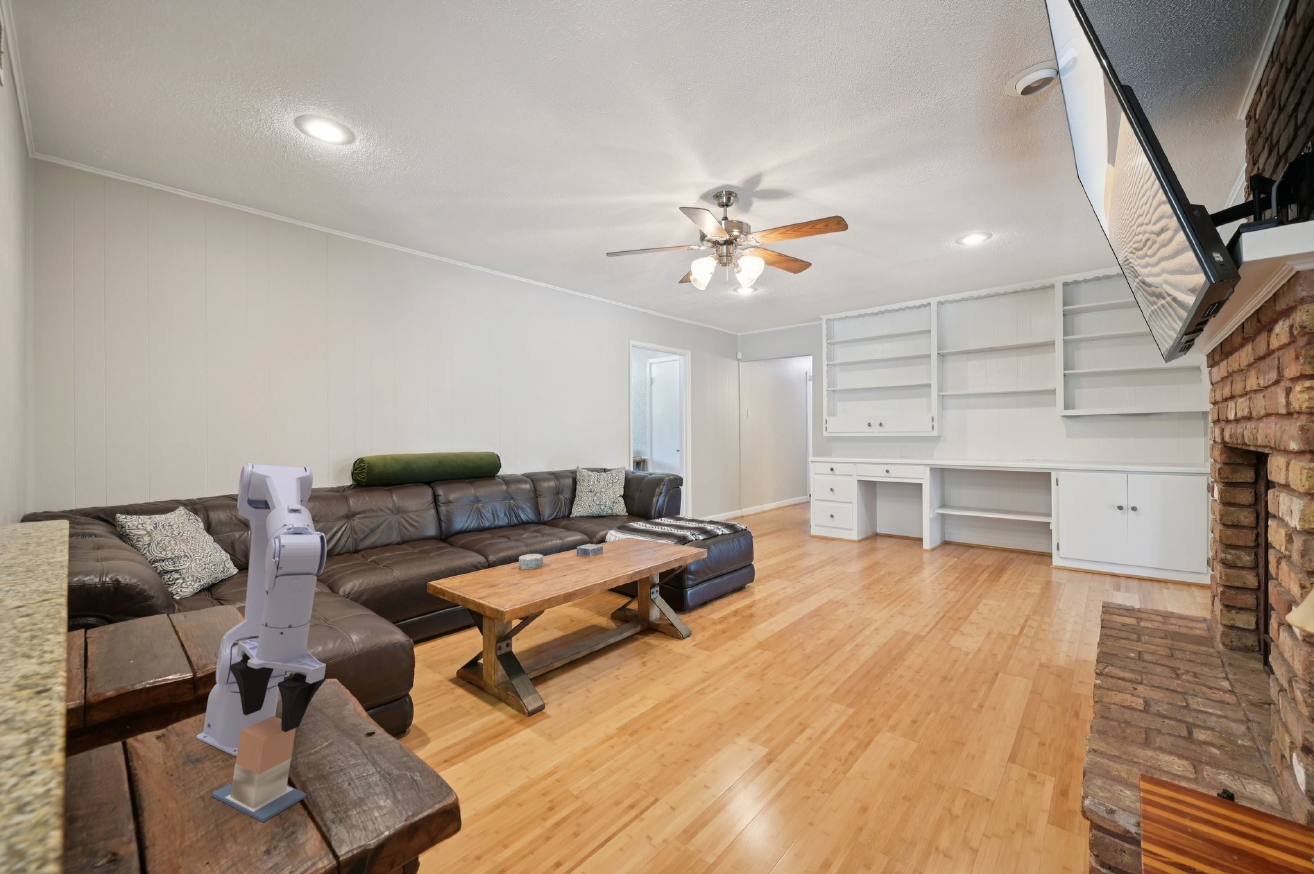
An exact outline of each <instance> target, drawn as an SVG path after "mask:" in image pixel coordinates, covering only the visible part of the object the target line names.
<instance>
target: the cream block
mask: <svg viewBox="0 0 1314 874" xmlns="http://www.w3.org/2000/svg"><path fill="white" fill-rule="evenodd" d="M291 761H292V757H291V758H290V759H288V760H286V761H284V762H282V763H280V764H278V765H276V766H274V767H272V768H270V769H268V770H266V771H264V772H262V773H260V774H257V773H255V772H253V771H251V770H249V769H246V768H244V767H242V766H240V765H238V764H236V762H235V763H234V768H233V774H232V775H233V776H232V782H231V783H232V788H231V795H230V797H231V798H233V799H235V800H237V801H239V802H241V803H243V804H245V805H247V806H249V807H251V808H255V807H257V806H259V805H261V804H262V803H264V802H266V801H268V800H270V799H272V798H273V797H275V796H277V795H279V794H281V793H282V792H284V791H286V788H287V785H288V781H289V780H288V779H289V773H290V768H291V767H290V766H291Z"/></svg>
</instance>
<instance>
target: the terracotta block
mask: <svg viewBox="0 0 1314 874" xmlns="http://www.w3.org/2000/svg"><path fill="white" fill-rule="evenodd" d="M281 719H282V718H280V717H277V716H276V715H275V716H273V717H270V718H268V719H266V720H263V721H261V722H258V723H256V724H253V725H251V726H249V727H246V728H244V729H241V732H240V738H239V745H238V751H237V756H236V758H235V763H236V764H238V765H240V766H242V767H244V768H246V769H249V770H251V771H253V772H255V773H257V774H260V773H262V772H264V771H266V770H268V769H270V768H272V767H274V766H276V765H278V764H280V763H282V762H284V761H286V760H288V759H290V758H291V759H292V755H293V750H294V742H295V736H296V730H297V728H294V729H292V730H290V731H288V732H284V731H282V728H281Z"/></svg>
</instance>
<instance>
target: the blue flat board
mask: <svg viewBox="0 0 1314 874" xmlns="http://www.w3.org/2000/svg"><path fill="white" fill-rule="evenodd" d="M231 788H232V782H231V783H229V784H227V785H225V786H223V787H221V788H219V789H217V790H215V791H213V792H211V797H212V798H214V799H216V800H218V801H220V802H223V803H225V804H226V805H228V806H230V807H232V808H234V809H236V810H237V811H240V812H242V813H244V814H245V815H248V816H249V817H252V818H254V819H256V820H257V821H260V822H261V823H264V822H266V821H268V820H269V819H271V818H273V817H274V816H276V815H278V814H279V813H281V812H283V811H284V810H287V809H288V808H290V807H292V806H294V805H295V804H296V803H298V802H300V801H301V800H303V799H305V798H307V793H306V792H303V791H301V790H300V789H297V788H294V787H293V786H290V785H288V784H287V788H286V791H284V792H282V793H281V794H279V795H277V796H275V797H273V798H272V799H270V800H268V801H266V802H264V803H262V804H261V805H259V806H257V807H255V808H251V807H249V806H247V805H245V804H243V803H241V802H239V801H237V800H235V799H233V798H231V797H230V795H231Z"/></svg>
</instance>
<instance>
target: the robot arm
mask: <svg viewBox="0 0 1314 874" xmlns="http://www.w3.org/2000/svg"><path fill="white" fill-rule="evenodd" d="M313 476H314V475H313V471H312V469H310V467H309V466H304V467H303V466H302V467H301V466H289V465H288V466H286V465H285V466H284V465H272V464H259V463H258V464H257V463H252V462H247V463H246V464H244V465H243V466H242V467H241V472H240V476H239V480H238V481H239V482H238V493H237V494H238V495H237V504H236V505H237V507H236V508H237V511H238V513H237V514H238V515H239V516H241V517H242V518H245V519H247V520H248V521H249V526H250V531H251V537H250V547H249V548H250V552H249V562H248V570H247V571H248V573H247V575H248V576H247V582H246V583H247V585H246V593H245V595H246V597H245V608H244V619H243V620H242V621H241V622H238V624H236V625H235V626H233V627H232V628H230V629H229V630H227V631H226V632H225V633H224V635H223V637H222V638H221V639H220V646H219V647H220V648H219V650H218V654H217V660H216V666H215V667H216V668H215V669H216V670H215V681H216V682H215V683H216V684H215V685H214V686H213V688H212V689H211V690H210V693H209V695H208V699H207V704H206V711H205V719H204V725H203V731H202V732H201V733H198V734H197V735H196V739H197V740H199V741H201V742H203V743H205V744H207V745H210V746H212V747H213V748H216V749H219V750H220V751H222V752H225V753H227V754H229V755H232V756H234V757H237V751H238V745H239V738H240V732H241V729H244V728H246V727H249V726H251V725H253V724H256V723H258V722H261V721H263V720H266V719H268V718H270V717H273V716H275V717H276V714H277V713H276V712H277V706H278V700H279V693H280V698H281V709H282V710H281V718H280V719H281V728H282V731H284V732H288V731H290V730H292V729H294V728H296V729H297V728H298V727H300V725H301V723H302V721H303V718H304V715H305V713H306V711H307V709H308V707H309V705H310V703H311V701H312V699H313V698H314V696H315V694H316V693H317V692H318V690H319V688H320V687H321V686H322V684H324V682H325V681H326V679H327V674H326V667H327V664H326V663H324V662H321V661H319V660H318V659H317V658H316V657H315V656H314V654H312V653H311V652H310V651H309V650H308V649H307V645H308V639H309V632H310V626H311V619H312V614H313V613H312V612H313V605H314V599H315V593H316V586H317V580H318V576H320V575H322V574H323V572H324V568H325V565H326V560H327V554H328V553H327V547H328V546H327V538H326V536H325V533H324V532H321V531H316V529H315V526H314V522H313V518H312V514H311V512H310V510H309V509H307V508H306V505H307V502H308V500H309V499H310V496H311V493H312V489H313V482H314V480H313V479H314V478H313ZM238 515H237V516H238ZM316 574H317V575H318V576H317V575H316ZM291 674H293V677H290V678H287V679H285V677H289V676H290V675H291Z"/></svg>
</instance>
